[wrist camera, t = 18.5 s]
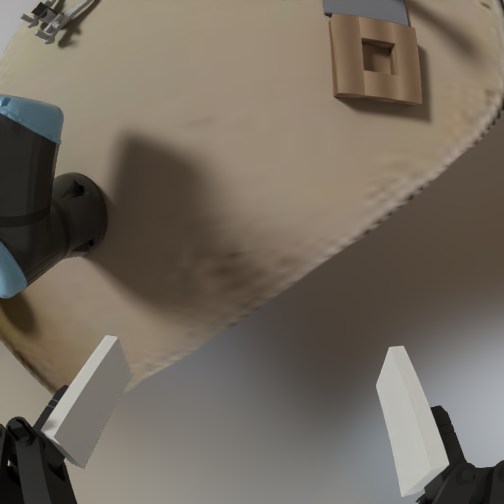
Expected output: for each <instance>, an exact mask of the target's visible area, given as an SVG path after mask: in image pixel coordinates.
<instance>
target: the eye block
mask: <svg viewBox="0 0 504 504" xmlns="http://www.w3.org/2000/svg"><path fill="white" fill-rule="evenodd" d="M329 33H330V45H331V58H332V75H333V97H346V98H357V99H366V100H375V101H382V102H389V103H396V104H402V105H408V106H413V105H420V104H422V90H421V75H420V64H419V55H418V46H417V39H416V32H415V28H413V27H409V26H405V25H401V24H397V23H392V22H388V21H383V20H378V19H372V18H366V17H360V16H353V15H345V14H336V13H333V14H332V17H331V19H330V21H329Z"/></svg>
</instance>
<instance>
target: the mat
mask: <svg viewBox="0 0 504 504" xmlns="http://www.w3.org/2000/svg"><path fill="white" fill-rule="evenodd" d="M323 7H324V15H332V14H333V13H336V14H345V15H353V16H360V17H366V18H372V19H378V20H383V21H388V22H392V23H397V24H401V25H405V26H409V25H408V19H407V14H406V9H405V4H404V0H323Z"/></svg>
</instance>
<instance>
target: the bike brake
mask: <svg viewBox="0 0 504 504" xmlns="http://www.w3.org/2000/svg"><path fill="white" fill-rule="evenodd" d="M55 1H56V0H45V1H44V2H43V3H42V2H40V3H39V4H37V5H36V6H35V9H34V10H33V11H32V12H31V13H33V14H32V17H29V16H27V15H25V14H21V15H20V18H21V19H23V20H25V21H27V23H26V27H28V28H31V27H34V26H37V25H38V24H39V21H38V20H41V21H42V22H44V23H46V24H48V26H47V27H46V28H45V29H44V30H43V31H45V32H47V33H46V34H45V33H43V32H41V31H39V30H36V31H35V32H34V35H36V36H38V37H40V38H42V39H43V40H42V42H43V43H45V44H51V43H53V42H54V41H55V36H56V34H57V33H58V31H59V30H60V29H61V28H62V27H63V26H64V25H65V24H66V23H67V22H68V21H69V20H70V19H71V18H72V17H73V16H74V15H76V14H77V13H78V12H79V11H80V10H82V9H83V8H84V7H85V6H87V5H88V4H89V3H90V2H91V1H92V0H83V1H82V2H80V3H79V4H78V5H76V6H75V7H73V8H72V9H70V10H68V11H67V12H65V13H64V14H63V15H62V14H60V13H59V14H58V13H57V12H55V11H54V10H53V9H51V8H50V7H51V6H52V5H53V4H54V3H55Z"/></svg>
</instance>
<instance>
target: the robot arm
mask: <svg viewBox="0 0 504 504" xmlns="http://www.w3.org/2000/svg"><path fill="white" fill-rule="evenodd" d="M63 121H64V115H63V112H62V110H61V109H60V108H59V107H58V106H55V105H52V104H49V103H45V102H41V101H37V100H32V99H27V98H22V97H17V96H11V95H4V94H0V297H1V298H10V297H13V296H14V295H15V294H17V293H18V292H20V291H21V290H25V289H26V288H27V287H28V286H29V285H30V284H31V283H33V282H34V281H35V280H36V279H38V278H39V277H40V276H41V275H43V274H44V273H45V272H46V271H48V270H49V269H50V268H52V267H53V266H54V265H55V264H57V263H58V262H59V261H61V260H62V259H65V258H71V257H77V256H82V255H85V254H87V253H89V252H90V251H92V250H93V249H95V248H96V247H97V246H98V245H99V244H100V243H101V241H102V240H103V238H104V235H105V232H106V228H107V211H106V206H105V202H104V200H103V197H102V195H101V193H100V191H99V189H98V188H97V187H96V185H95V184H94V183H93V182H92V181H91V180H90V179H89V178H87V177H86V176H84V175H82V174H79V173H66V174H63V175H60V176H58V177H56V178H54V174H55V168H56V162H57V156H58V150H59V145H60V144H61V139H60V138H61V132H62V126H63ZM132 375H133V374H132V372H131V370H130V367H129V365H128V362H127V359H126V357H125V354H124V352H123V349H122V346H121V343H120V341H119V338H118V337H115V336H109V335H106V336H105V338H104V339H103V340H102V342H101V343H100V344H99V346H98V347H97V348H96V350H95V351H94V352H93V354H92V355H91V357H90V358H89V359H88V361H87V362H86V363H85V365H84V366H83V368H82V369H81V370H80V372H79V373H78V375H77V376H76V378H75V379H74V380H73V382H72V383H71V385H70V386H67V385H64V386H63V387H62V388H60V389H59V390H58V391H57V392H56V393H55V395H54V396H53V398H52V400H51V401H50V402H49V404H48V406H46V408H45V409H44V411H43V412H42V414H41V415H40V417H39V418H38V420H37V422H36V423H35V425H34V426H33V427H31V426H30V424H29V423H28V422H27V421H26V420H25V419H24V418H22V417H14V418H12V419H11V420H10V421H9V422H8V423H7V425H6V428H5V427H4V426H3V425H2V424H0V504H77V501H76V499H75V495H74V492H73V489H72V486H71V483H70V479H69V475H68V472H67V468H66V465H65V463H64V459H65V457H66V458H67V459H68V460H69V461H70V462H71V463H72V464H74V465H76V466H79V467H81V468H83V469H84V468H85V466H86V464H87V462H88V460H89V458H90V456H91V454H92V452H93V450H94V448H95V446H96V444H97V442H98V440H99V438H100V435H101V434H102V431H103V430H104V428H105V426H106V424H107V422H108V420H109V418H110V416H111V414H112V412H113V410H114V408H115V406H116V405H117V403H118V401H119V399H120V397H121V395H122V393H123V391H124V389H125V388H126V386H127V384H128V382H129V380H130V378H131V377H132ZM376 388H377V391H378V395H379V399H380V402H381V406H382V410H383V414H384V418H385V422H386V426H387V430H388V434H389V438H390V442H391V447H392V451H393V455H394V460H395V465H396V470H397V475H398V480H399V485H400V491H401V497H403V496H407V495H411V494H414V493H418V492H419V491H421V489H423V488H424V489H425V494H423V495H422V496H421V497H420V498H418V500H417V501H416V502H419V501H420V502H419V504H504V460H503V461H501V462H499V463H498V464H497V465H496V466H494V467H485V468H476V467H475V466H474V465H472V464H471V463H467V461H466V460H465V458H464V455H463V452H462V449H461V447H460V444H459V441H458V439H457V436H456V433H455V432H454V428H453V425H451V420H450V418H449V415H448V413H447V412H446V411H445V410H444V409H443V408H442V407H441V406H435V407H429V404H428V402H427V399H426V397H425V394H424V392H423V389H422V387H421V384H420V382H419V380H418V377H417V375H416V373H415V370H414V368H413V366H412V364H411V361H410V359H409V357H408V355H407V352H406V350H405V348H404V346H397V347H389V350H388V353H387V356H386V359H385V362H384V365H383V367H382V371H381V373H380V376H379V379H378V382H377V384H376ZM8 460H9V461H10V465H9V466H8Z"/></svg>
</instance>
